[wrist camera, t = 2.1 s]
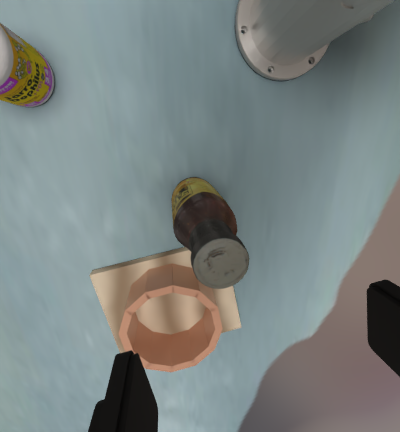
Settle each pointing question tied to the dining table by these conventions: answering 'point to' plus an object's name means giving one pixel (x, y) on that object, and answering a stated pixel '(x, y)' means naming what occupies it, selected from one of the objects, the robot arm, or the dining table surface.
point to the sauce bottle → (208, 234)
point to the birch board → (162, 305)
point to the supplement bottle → (23, 72)
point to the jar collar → (170, 343)
